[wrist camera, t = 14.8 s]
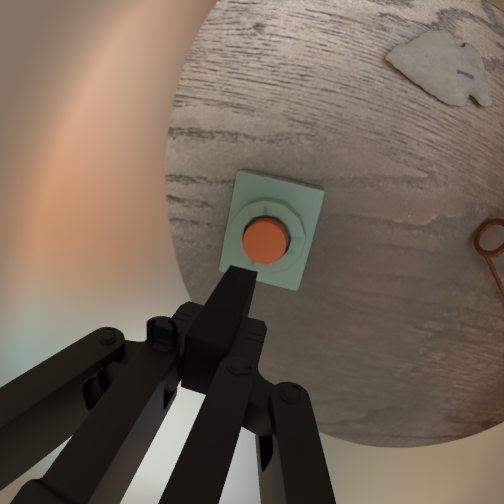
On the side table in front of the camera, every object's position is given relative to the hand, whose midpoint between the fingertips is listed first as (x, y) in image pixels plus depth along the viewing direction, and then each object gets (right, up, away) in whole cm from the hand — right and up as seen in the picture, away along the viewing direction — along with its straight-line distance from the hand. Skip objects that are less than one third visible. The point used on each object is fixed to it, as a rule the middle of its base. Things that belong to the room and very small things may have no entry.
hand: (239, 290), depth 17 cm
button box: (+3, +5, +14) cm, 15 cm away
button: (+2, +3, +10) cm, 11 cm away
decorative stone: (+19, +20, +6) cm, 28 cm away
